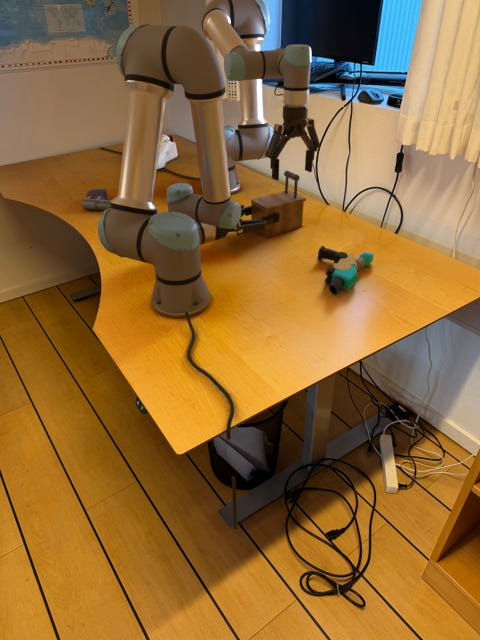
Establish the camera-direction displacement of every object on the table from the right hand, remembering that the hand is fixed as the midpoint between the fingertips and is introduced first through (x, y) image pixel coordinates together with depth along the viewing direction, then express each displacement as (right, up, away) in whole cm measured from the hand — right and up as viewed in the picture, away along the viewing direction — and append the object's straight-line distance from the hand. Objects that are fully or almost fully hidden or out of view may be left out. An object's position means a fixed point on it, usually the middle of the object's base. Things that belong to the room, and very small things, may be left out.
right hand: (292, 175), depth 154 cm
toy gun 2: (+11, -34, -18) cm, 40 cm away
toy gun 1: (-67, -4, +25) cm, 71 cm away
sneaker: (-54, +24, +63) cm, 87 cm away
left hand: (-7, -11, +3) cm, 14 cm away
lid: (-4, -8, +3) cm, 9 cm away
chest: (-4, -16, +8) cm, 18 cm away
